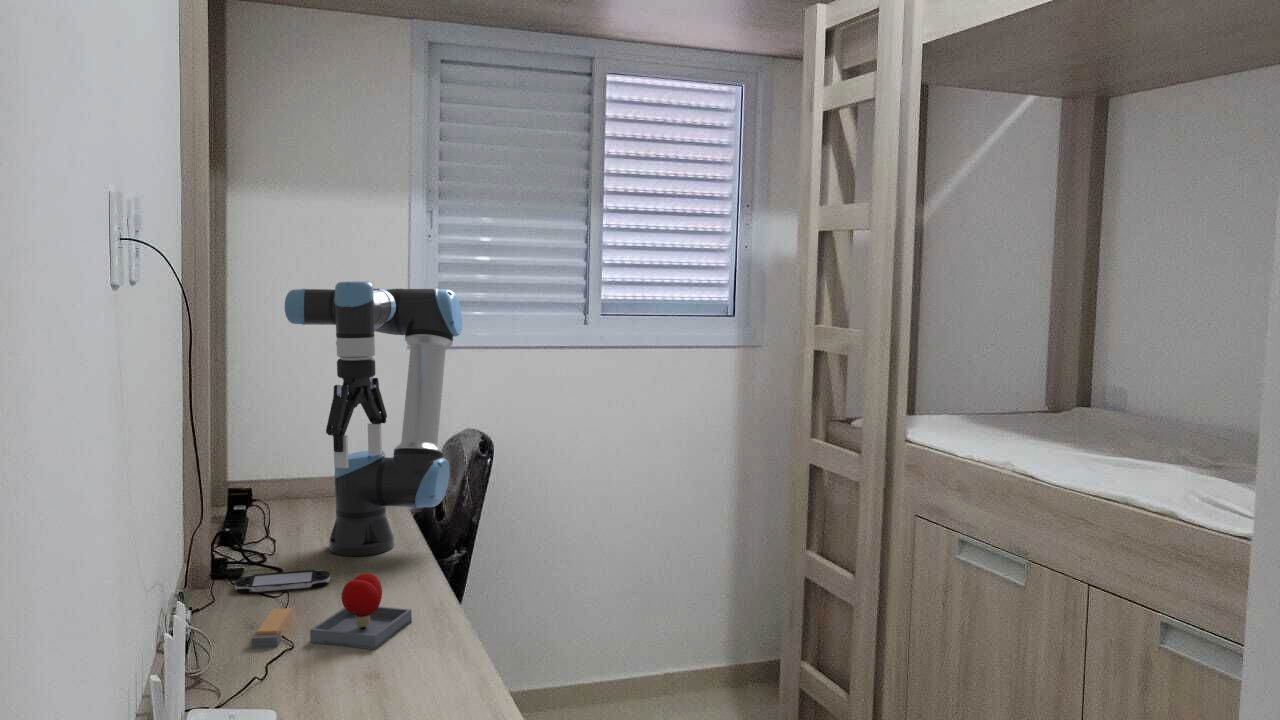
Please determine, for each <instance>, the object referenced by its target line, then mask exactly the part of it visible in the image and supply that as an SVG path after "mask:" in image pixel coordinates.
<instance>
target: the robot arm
mask: <svg viewBox="0 0 1280 720" xmlns="http://www.w3.org/2000/svg"><path fill="white" fill-rule="evenodd" d="M284 314H285V317H286V318H287V321H288V322H290V323H291V324H293V325H302V326H305V325H309V326H310V325H315V326H316V325H317V326H318V325H322V326H325V325H326V326H327V325H328V326H335V337H336V341H335V345H336V356H337V357H338V359H337V361H336V373H337V374H336V376H337V377H338V378H340V379H342V380H343V383H342V385H341V384H335V385H334V386H333V396H332V400H331V401H332V403H331V406H330V411H329V414H328V419H327V424H326V428H325V433H326V434H327V435H328V436H332V437H333V438H332V440H333V442H332V443H333V465H334V476H333V478H334V496H335V497H334V498H335V520H334V524H333V527H332V529H331V534H330V537H329V542H328V545H329V552H331V553H332V554H334V555H338V556H339V555H340V556H347V557H363V556H373V555H377V554H381V553H384V552H387V551H390V550H391V549H393V547H394V546H395V537H394V533H393V530H392V527H391V525H390V522H389V520H388V517H387V513H386V512H387V511H386V510H387V509H386V508H387V507H400V508H401V507H404V508H405V507H406V508H418V509H422V508H433V507H436V506H438V505H439V504H441V502H442V501H443V499H444V497H445V495H446V493H447V490H448V485H449V483H450V472H451V471H450V463H449V461H448V460H447V459H446V458H445V457H444V456H443V455H444V452H443V450H442V449H441V448H440V447H439V444H438V440H439V429H440V428H439V427H440V421H441V419H440V417H441V408H442V407H441V406H442V397H443V395H442V394H443V385H444V384H443V383H444V373H445V361H446V360H445V359H446V351H447V350H448V349H449V348H451V347H452V345H453V341H454V337H458V336H460V335H461V333H462V330H463V314H462V308H461V305H460V301H459V298H458V296H457V295H456V293H455V291H452V290H451V289H447V288H446V289H444V288H443V289H441V288H437V287H435V288H390V289H389V288H388V289H382V288H374V286H373V284H372V283H371V281H370V282H369V281H339V282H337V283H336V284H335V287H334V289H331V288H330V289H327V288H326V289H325V288H319V289H318V288H317V289H316V288H312V289H311V288H299V289H297V288H295V289H291V290H289V291H288V292H287V294H286V296H285V299H284ZM375 333H382V334H386V335H395V336H404V341H405V342H406V344H408V346H409V359H408V360H409V361H408V368H407V369H408V370H407V378H406V379H407V380H406V381H407V382H406V391H405V399H404V410H403V420H402V421H403V422H402V432H401V441H400V443H399V444H398V445H396V447H394V449H393V456H392V457H386V454H385V451H384V450H383V449H382V445H383V444H382V424H386V423H387V418H388V415H387V410H386V407H385V404H384V400H383V397H382V394H381V390H380V383H379V382H380V381H379V378H378V377H375V376H376V360H375V358H373V357H375V356H376V346H375V342H376V341H375ZM358 405H361V407H362V409H363V410H364V412H365V415H366V417H367V418H368V421H369V422H370V423H368V424H367V445H368V447H367V448H368V449H367V450H364V451H363V450H362V451H356V452H352V453H349V438H348V434H347V435H346V432H347V429H348V426H349V424H350V421H351V418H352V416H353V414H354V410H355V408H357V407H358Z"/></svg>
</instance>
